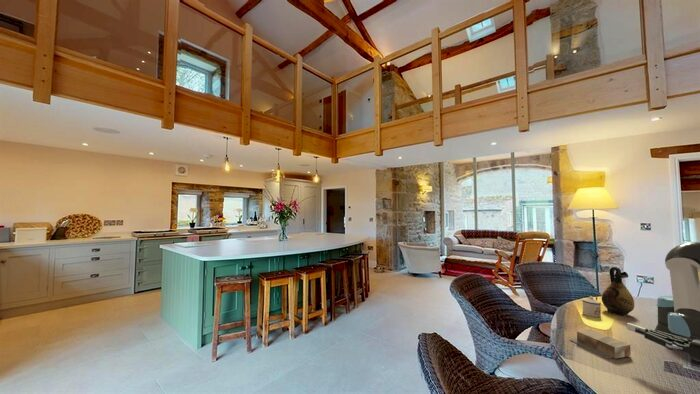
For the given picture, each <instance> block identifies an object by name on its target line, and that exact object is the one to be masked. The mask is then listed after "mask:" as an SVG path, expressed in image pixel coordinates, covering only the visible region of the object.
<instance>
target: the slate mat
mask: <svg viewBox="0 0 700 394" xmlns="http://www.w3.org/2000/svg"><path fill="white" fill-rule="evenodd" d="M570 340H571V341H570ZM569 341H570V342H572V341H573V342H572V343H574V344H576V345H579V346H581V347H582V348H585V349H587V350H589V351H592V352H594V353H596V354H598V355H600V356H602V357H605V358H606V359H614V358H613V357H611V356H609V355H606V354H604V353H602V352H600V351H598V350H595V349H593V348H591V347H589V346H587V345H584V344H582V343H580V342H578V341H577V337H576V338H571V339H569Z"/></svg>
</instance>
